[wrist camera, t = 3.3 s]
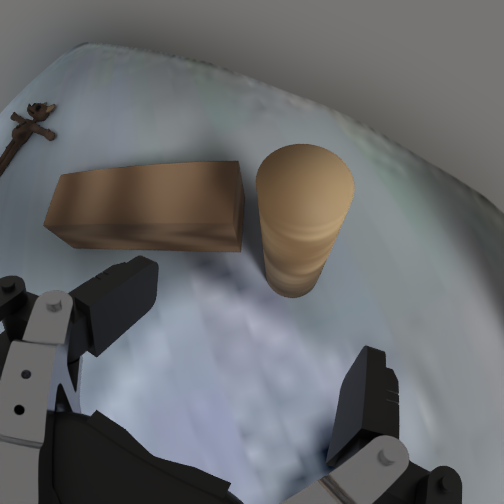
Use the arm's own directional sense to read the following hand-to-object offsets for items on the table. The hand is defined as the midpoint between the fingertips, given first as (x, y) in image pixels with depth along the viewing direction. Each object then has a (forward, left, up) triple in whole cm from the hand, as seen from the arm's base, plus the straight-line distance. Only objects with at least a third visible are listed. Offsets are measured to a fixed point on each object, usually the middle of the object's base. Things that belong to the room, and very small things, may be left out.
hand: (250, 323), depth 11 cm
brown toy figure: (+36, -23, -12) cm, 45 cm away
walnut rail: (+10, -10, -11) cm, 18 cm away
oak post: (-2, -6, -11) cm, 13 cm away
